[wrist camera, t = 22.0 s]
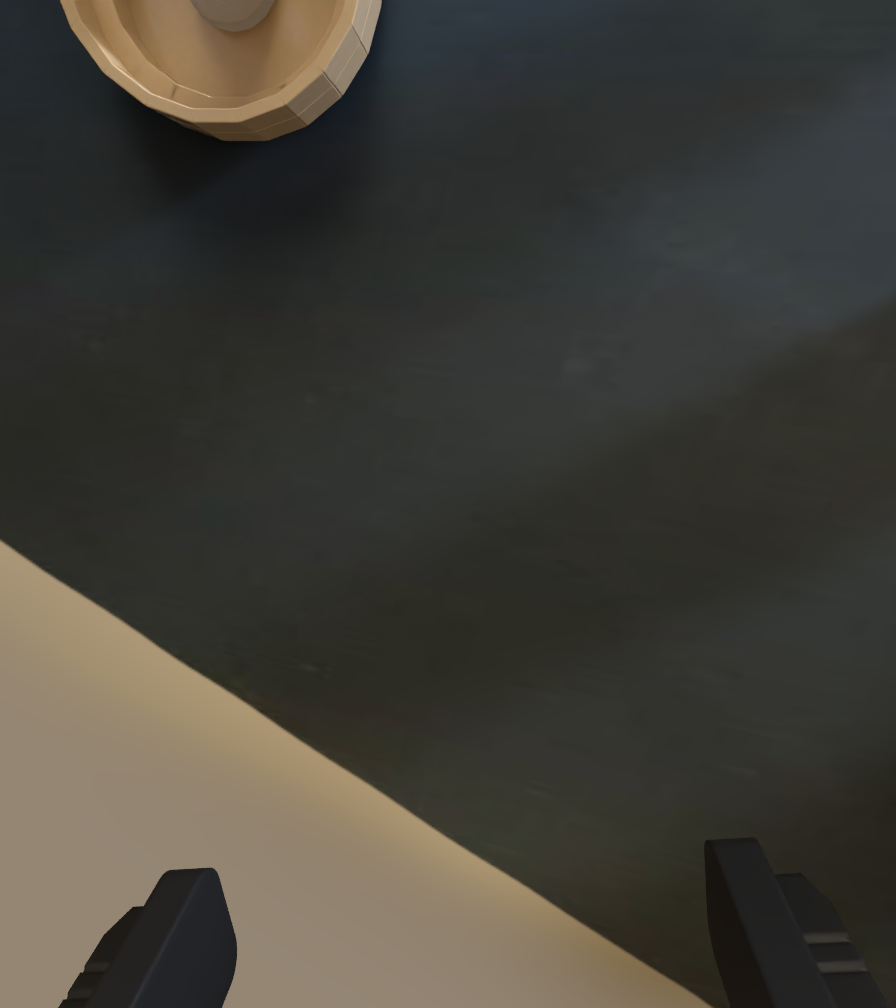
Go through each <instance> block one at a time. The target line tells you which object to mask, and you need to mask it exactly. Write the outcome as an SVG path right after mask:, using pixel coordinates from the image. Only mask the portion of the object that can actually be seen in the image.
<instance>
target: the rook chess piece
mask: <svg viewBox="0 0 896 1008" xmlns="http://www.w3.org/2000/svg"><path fill="white" fill-rule="evenodd" d="M191 2H192V4H193V5H194V7H195V8H196V9H197V10H198V11H199V13H200V14H201V16H202V17H203V18H205V19H206V20H207V21H209V22H210V23H211V24H212V25H214V26H215V27H216V28H219V29H223V30H227V31H232V32H237V31H242V30H246V29H251V28H252V27H254V26H255V25H256V24H257V23H259V22H260V21H261V20H262V19H264V18H265V17H266V15H267V13H268V12H269V10H270V8H271V6H272V4H273V2H274V0H191Z"/></svg>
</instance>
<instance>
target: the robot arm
mask: <svg viewBox="0 0 896 1008" xmlns="http://www.w3.org/2000/svg"><path fill="white" fill-rule="evenodd" d="M704 854H705V874H706V894H707V914H708V925H709V932H710V937H711V943H712V947H713V952H714V956H715V959H716V963H717V966H718V969H719V973H720V976H721V979H722V982H723V985H724V988H725V991H726V994H727V997H728V1000H729V1003H730V1006H731V1008H889V1007H888V1005H887V1003H886V1001H885V999H884V998H883V996H882V994H881V992H880V990H879V988H878V987H877V985H876V983H875V981H874V979H873V977H872V976H871V974H870V972H867V970H866V967H865V963H864V961H863V959H862V957H861V956H860V954H859V952H858V950H857V948H856V946H855V945H854V943H853V942H851V940H850V936H849V934H848V932H847V930H846V928H845V926H844V925H843V923H842V921H841V919H840V917H839V915H838V914H837V912H836V910H835V908H834V906H833V904H832V903H831V901H830V900H829V899H828V898H827V897H826V896H824V895H823V894H822V893H821V892H820V891H819V890H818V889H817V888H816V887H815V886H814V885H813V884H811V883H810V882H809V881H808V880H807V879H806V878H805V877H804V876H803V875H802V874H801V873H797V874H778V875H774V873H773V871H772V869H771V867H770V865H769V862H768V860H767V858H766V856H765V854H764V852H763V850H762V848H761V846H760V844H759V842H758V841H757V839H756V838H754V837H753V838H736V839H719V840H706V841H705V845H704ZM236 959H237V943H236V937H235V933H234V929H233V926H232V922H231V919H230V915H229V911H228V908H227V904H226V900H225V897H224V893H223V890H222V886H221V882H220V879H219V876H218V873H217V872H216V871H215V869H213V868H197V869H182V870H181V869H180V870H169V871H167V872H166V873H164V874H163V875H162V877H161V878H160V880H159V881H158V883H157V885H156V886H155V888H154V890H153V891H152V893H151V895H150V896H149V898H148V900H147V901H146V903H145V905H144V906H140V907H132V908H131V909H130V910H129V911H128V912H127V913H126V914H125V915H124V916H123V917H122V918H121V919H120V920H119V921H118V922H117V923H116V924H115V925H114V926H113V927H112V928H111V929H110V930H109V931H107V933H106V934H104V936H103V937H102V939H101V941H100V942H99V944H98V945H97V947H96V949H95V950H94V952H93V953H92V955H91V957H90V958H89V960H88V961H87V963H86V964H85V969H84V972H83V973H80V974H79V976H78V977H77V979H76V980H75V982H74V984H73V985H72V987H71V988H70V990H69V992H68V997H67V999H66V1000H63V1001H62V1003H61V1004H60V1006H59V1007H58V1008H222V1006H223V1003H224V1000H225V998H226V995H227V993H228V991H229V988H230V986H231V983H232V980H233V976H234V972H235V967H236Z"/></svg>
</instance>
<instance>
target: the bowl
mask: <svg viewBox="0 0 896 1008" xmlns="http://www.w3.org/2000/svg"><path fill="white" fill-rule="evenodd" d="M60 1H61V4H62V6H63V9H64V11H65V14H66V17H67V19H68V22H69V24H70V26H71V29H72V30H73V32H74V33H75V34H76V36H77V37H78V39H79V40H80V41H81V43H82V44H83V45H84V47H85V48H86V50H87V51H88V52H89V54H90V55H91V56H92V58H93V59H94V61H95V62H96V63H97V65H98V66H99V67H100V69H101V70H102V72H103V73H105V75H107V76H108V77H109V78H110V79H112V80H113V81H114V82H116V83H117V84H118V85H119V86H121V87H122V88H123V89H124V90H126V91H127V92H128V93H130V94H131V95H132V96H133V97H135V98H136V99H137V100H139V101H140V102H141V103H142V104H144V105H145V106H147V107H149V108H151V109H152V110H154V111H156V112H158V113H160V114H162V115H163V116H165V117H167V118H169V119H171V120H173V121H174V122H176V123H178V124H180V125H182V126H184V127H186V128H189V129H192V130H195V131H197V132H200V133H203V134H206V135H209V136H211V137H214V138H217V139H220V140H224V141H266V140H267V141H268V140H271V139H274V138H276V137H279V136H282V135H285V134H287V133H290V132H293V131H295V130H298V129H301V128H304V127H306V126H307V125H309V124H310V123H312V122H313V121H314V120H315V119H316V118H317V117H319V116H320V115H321V114H322V113H323V112H325V111H326V110H327V109H328V108H329V107H331V106H332V105H333V104H334V103H335V102H336V101H338V100H339V99H340V98H341V97H342V96H343V95H344V93H345V91H346V90H347V88H348V86H349V85H350V83H351V82H352V80H353V78H354V77H355V75H356V73H357V72H358V70H359V69H360V67H361V65H362V64H363V62H364V60H365V59H366V57H367V54H369V50H370V46H371V42H372V39H373V35H374V31H375V28H376V24H377V20H378V16H379V13H380V9H381V3H382V0H274V2H273V4H272V6H271V8H270V10H269V12H268V13H267V15H266V17H265V18H264V19H262V20H261V21H260V22H259V23H257V24H256V25H255V26H254V27H252V28H251V29H246V30H242V31H237V32H232V31H227V30H223V29H219V28H216V27H215V26H214V25H212V24H211V23H210V22H209V21H207V20H206V19H205V18H203V17H202V16H201V14H200V13H199V11H198V10H197V9H196V8H195V7H194V5H193V4H192V2H191V0H60Z"/></svg>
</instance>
